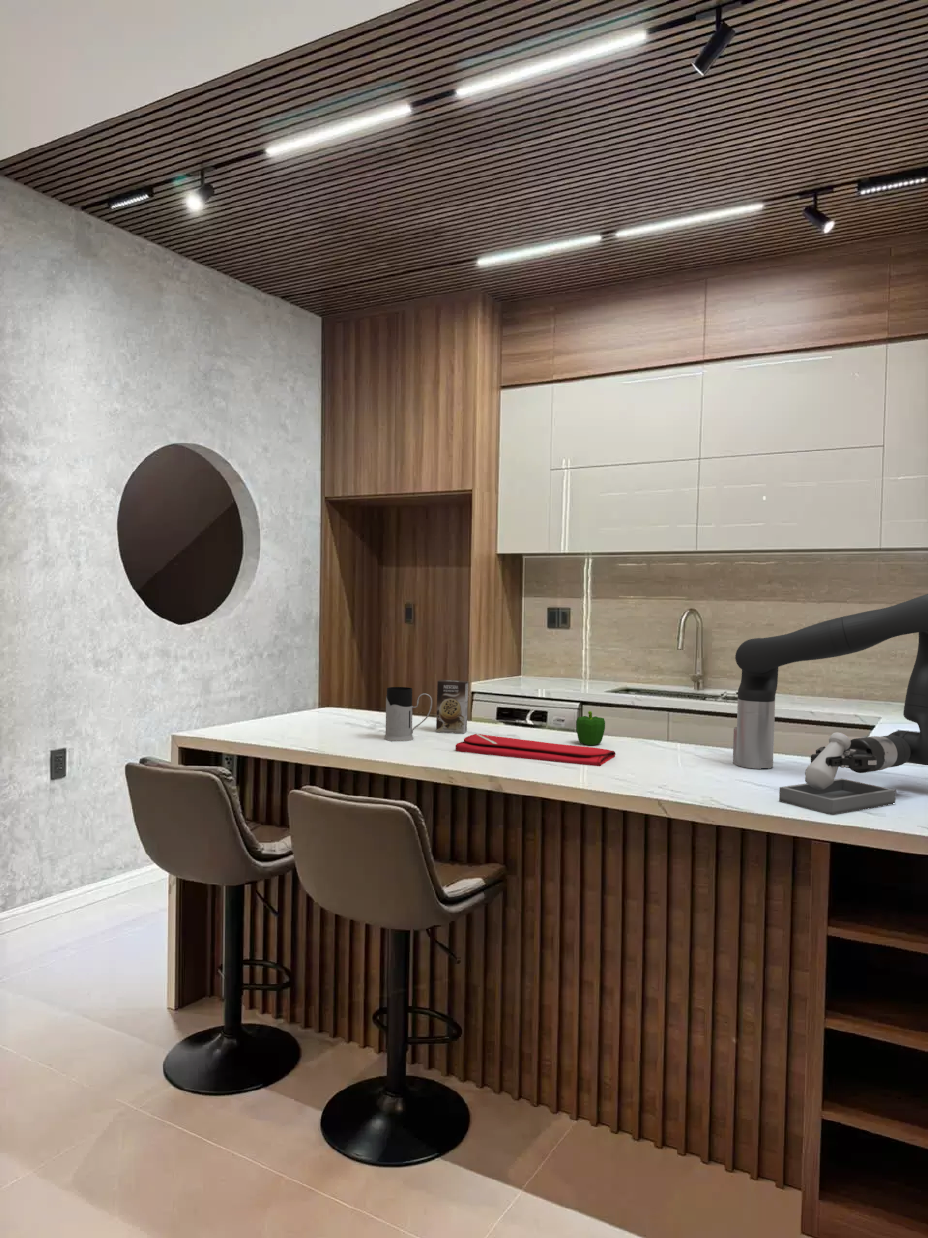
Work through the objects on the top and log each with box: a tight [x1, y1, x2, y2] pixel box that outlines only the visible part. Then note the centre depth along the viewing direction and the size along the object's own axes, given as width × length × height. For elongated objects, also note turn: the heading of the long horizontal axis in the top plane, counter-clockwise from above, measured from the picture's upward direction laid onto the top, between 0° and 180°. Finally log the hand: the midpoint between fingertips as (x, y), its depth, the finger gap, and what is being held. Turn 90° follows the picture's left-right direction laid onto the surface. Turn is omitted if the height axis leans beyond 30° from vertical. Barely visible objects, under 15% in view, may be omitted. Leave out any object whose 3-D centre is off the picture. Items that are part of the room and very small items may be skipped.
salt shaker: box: [804, 732, 851, 790], centre depth 182 cm, size 6×6×13 cm
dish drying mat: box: [455, 733, 616, 767], centre depth 234 cm, size 16×41×4 cm, turn 66°
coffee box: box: [435, 679, 469, 734], centre depth 269 cm, size 9×6×16 cm
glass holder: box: [383, 686, 433, 742], centre depth 253 cm, size 9×14×15 cm, turn 82°
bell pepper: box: [575, 710, 606, 746], centre depth 252 cm, size 8×8×10 cm
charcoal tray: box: [778, 778, 896, 816], centre depth 184 cm, size 13×21×3 cm, turn 121°
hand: (820, 761), depth 181 cm, fingers closed on salt shaker, 3 cm apart
